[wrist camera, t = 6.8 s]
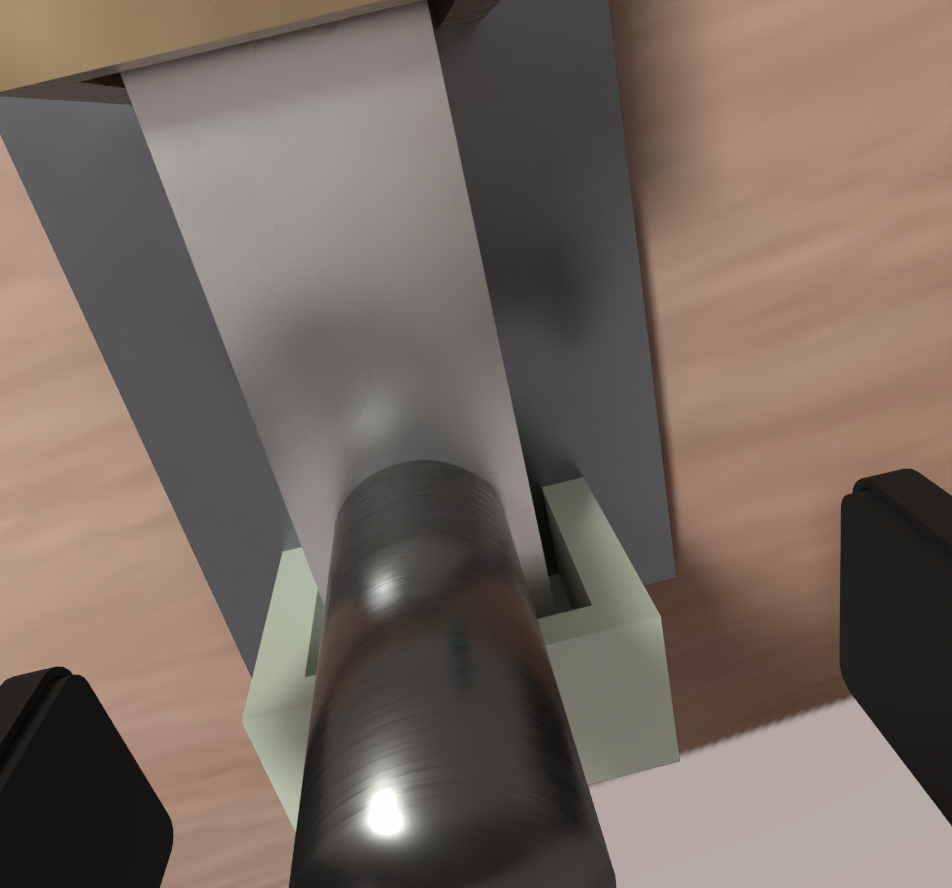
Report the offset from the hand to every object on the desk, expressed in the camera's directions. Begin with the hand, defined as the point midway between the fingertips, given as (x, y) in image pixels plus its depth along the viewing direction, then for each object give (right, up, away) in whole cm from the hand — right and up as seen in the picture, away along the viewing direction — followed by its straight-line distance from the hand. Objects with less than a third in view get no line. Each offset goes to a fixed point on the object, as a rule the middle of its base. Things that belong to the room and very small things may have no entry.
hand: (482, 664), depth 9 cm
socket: (-1, 0, +9) cm, 9 cm away
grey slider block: (-2, +6, +6) cm, 9 cm away
